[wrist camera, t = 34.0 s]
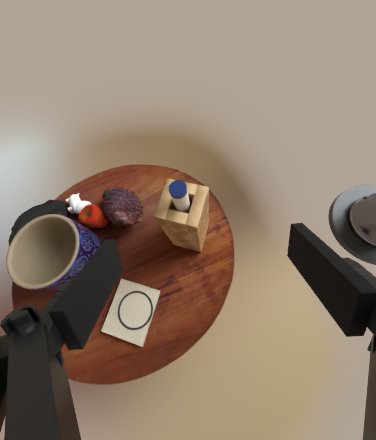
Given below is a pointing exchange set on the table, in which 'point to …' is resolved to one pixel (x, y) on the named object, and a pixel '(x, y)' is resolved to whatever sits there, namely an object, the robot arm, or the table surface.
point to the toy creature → (76, 204)
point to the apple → (93, 217)
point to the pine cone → (122, 206)
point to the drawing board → (131, 312)
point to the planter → (49, 252)
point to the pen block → (185, 217)
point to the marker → (180, 196)
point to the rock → (38, 214)
